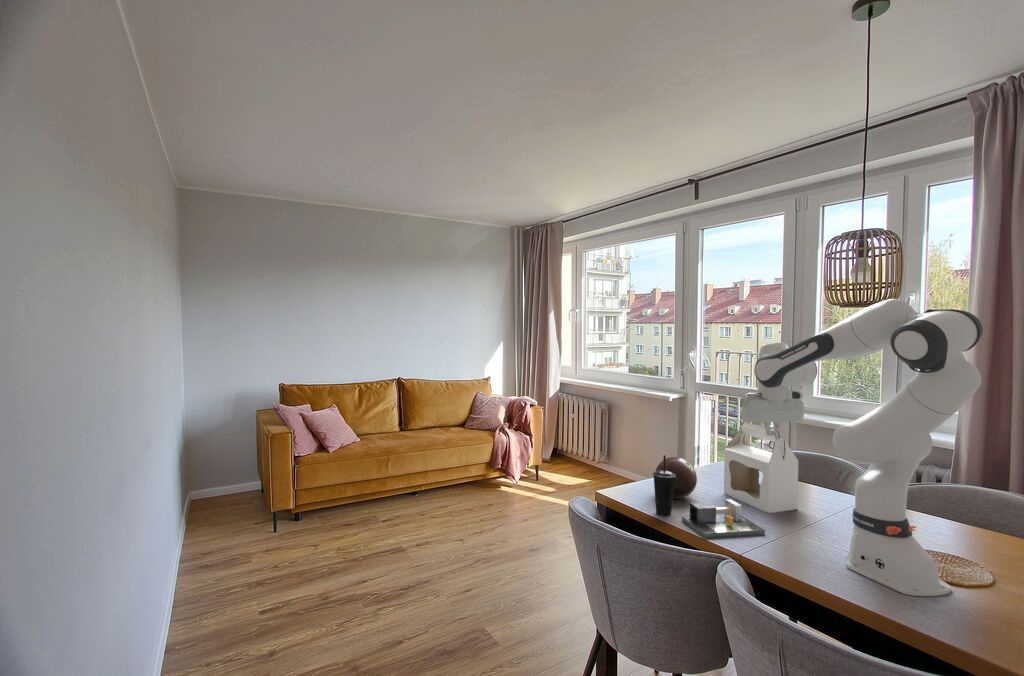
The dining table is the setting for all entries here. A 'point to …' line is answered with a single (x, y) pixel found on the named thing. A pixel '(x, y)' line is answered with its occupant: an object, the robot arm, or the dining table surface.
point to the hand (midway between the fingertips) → (771, 435)
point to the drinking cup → (664, 490)
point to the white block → (732, 510)
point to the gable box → (775, 467)
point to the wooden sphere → (680, 476)
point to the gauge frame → (717, 523)
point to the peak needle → (729, 518)
